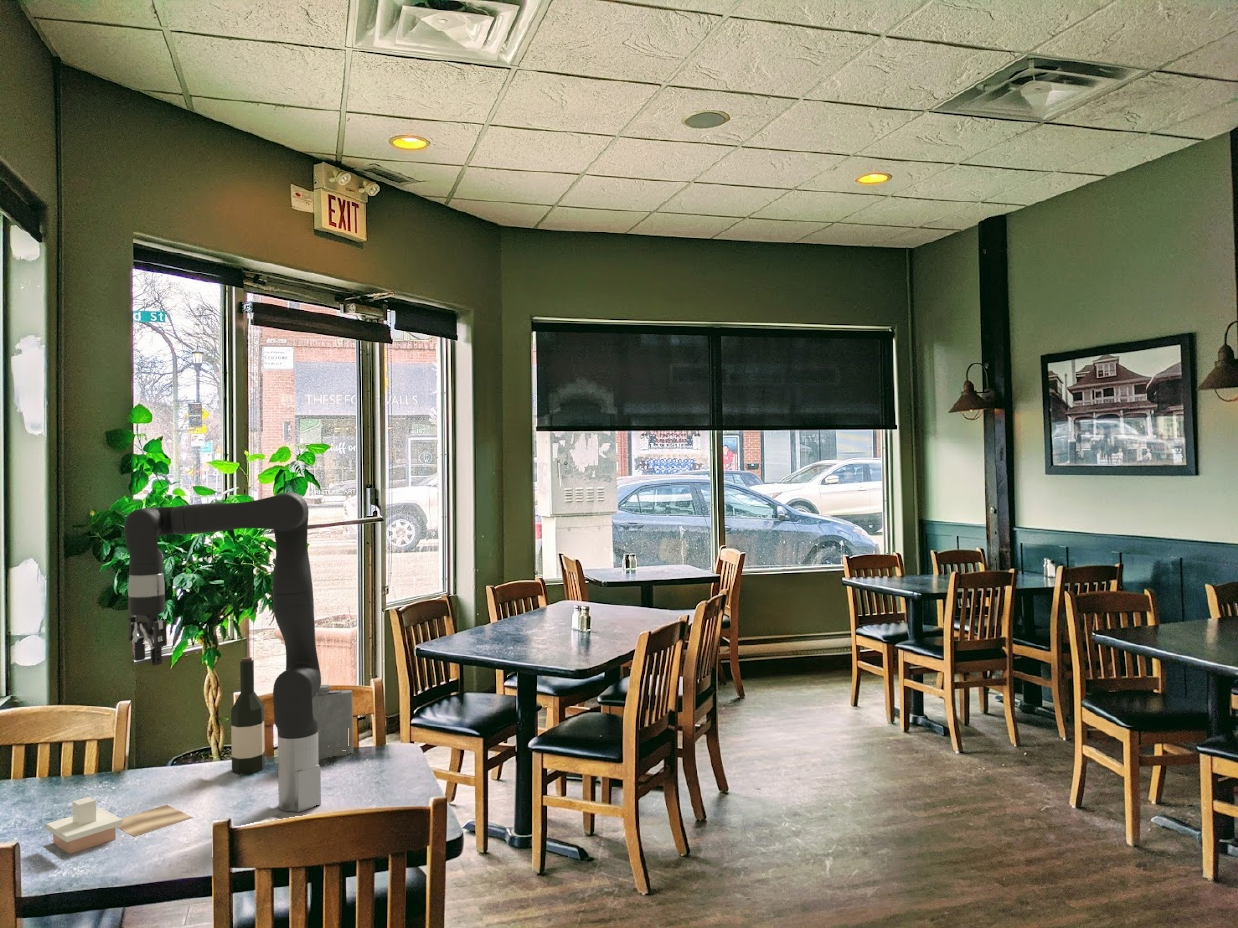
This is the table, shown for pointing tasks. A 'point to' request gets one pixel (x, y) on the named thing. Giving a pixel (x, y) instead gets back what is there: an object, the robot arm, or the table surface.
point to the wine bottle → (247, 725)
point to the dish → (85, 841)
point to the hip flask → (333, 721)
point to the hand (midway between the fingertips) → (147, 662)
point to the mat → (152, 820)
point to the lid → (83, 821)
